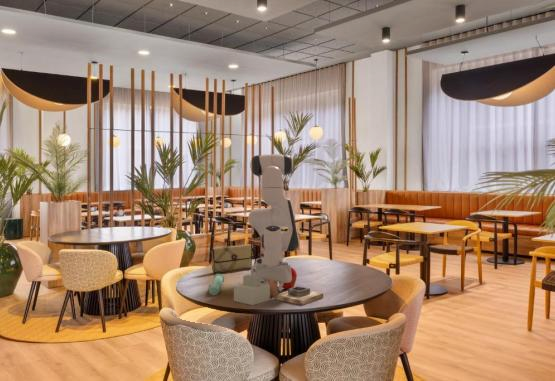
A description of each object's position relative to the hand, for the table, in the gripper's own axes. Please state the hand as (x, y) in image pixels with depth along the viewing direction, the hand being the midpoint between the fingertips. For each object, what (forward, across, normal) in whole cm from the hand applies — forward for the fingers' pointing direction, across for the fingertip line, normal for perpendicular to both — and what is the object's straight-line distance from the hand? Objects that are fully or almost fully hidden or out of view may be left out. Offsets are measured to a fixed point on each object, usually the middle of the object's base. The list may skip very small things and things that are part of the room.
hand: (273, 289), depth 223 cm
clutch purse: (+3, +56, -29) cm, 63 cm away
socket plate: (+3, -13, -3) cm, 14 cm away
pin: (+3, 0, 0) cm, 3 cm away
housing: (+3, +2, +13) cm, 13 cm away
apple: (+3, +2, -13) cm, 13 cm away
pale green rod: (+3, +30, +9) cm, 32 cm away
